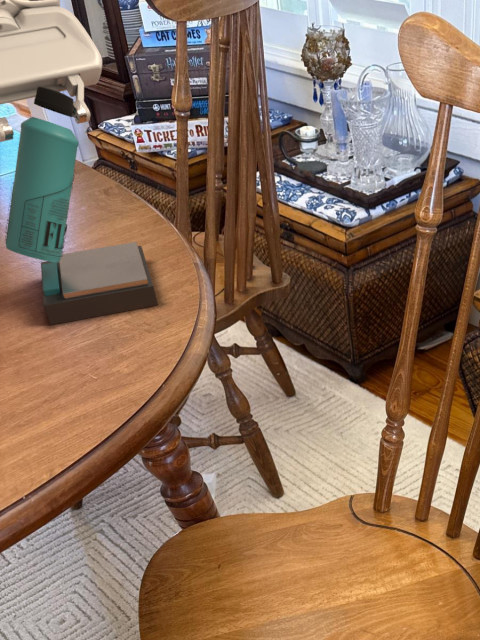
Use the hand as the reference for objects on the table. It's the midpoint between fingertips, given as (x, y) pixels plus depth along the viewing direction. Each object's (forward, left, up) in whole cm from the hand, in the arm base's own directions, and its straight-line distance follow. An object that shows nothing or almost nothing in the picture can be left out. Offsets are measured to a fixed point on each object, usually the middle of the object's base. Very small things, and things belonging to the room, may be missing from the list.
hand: (46, 128), depth 90 cm
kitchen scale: (+3, -1, -19) cm, 19 cm away
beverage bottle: (-1, -7, -14) cm, 16 cm away
